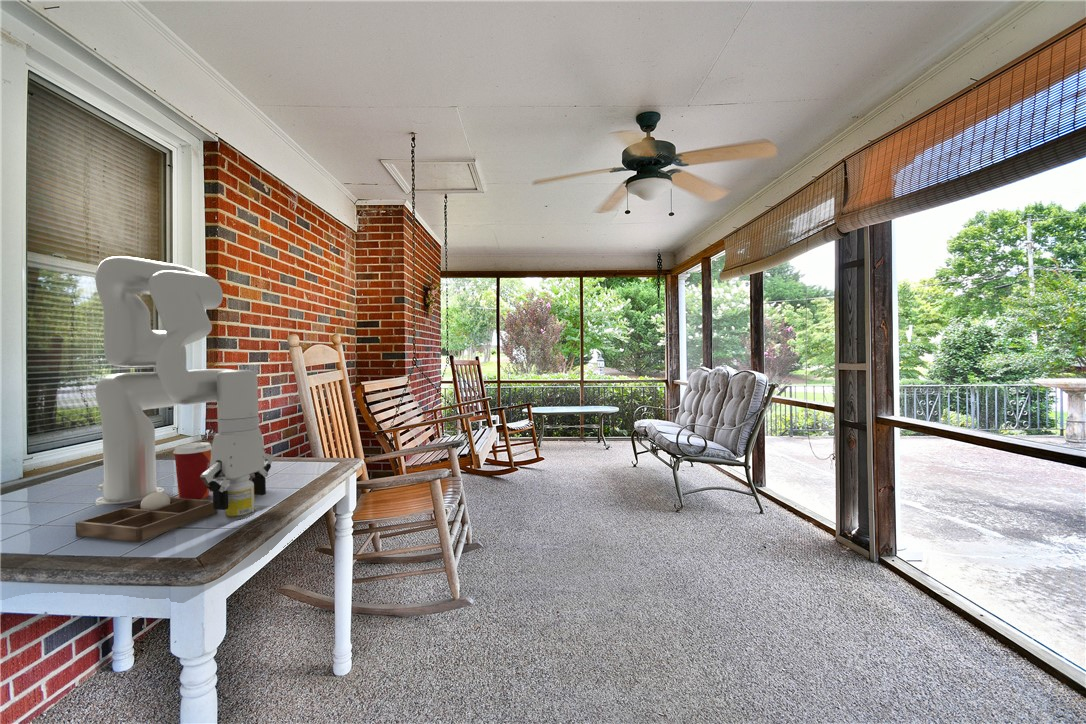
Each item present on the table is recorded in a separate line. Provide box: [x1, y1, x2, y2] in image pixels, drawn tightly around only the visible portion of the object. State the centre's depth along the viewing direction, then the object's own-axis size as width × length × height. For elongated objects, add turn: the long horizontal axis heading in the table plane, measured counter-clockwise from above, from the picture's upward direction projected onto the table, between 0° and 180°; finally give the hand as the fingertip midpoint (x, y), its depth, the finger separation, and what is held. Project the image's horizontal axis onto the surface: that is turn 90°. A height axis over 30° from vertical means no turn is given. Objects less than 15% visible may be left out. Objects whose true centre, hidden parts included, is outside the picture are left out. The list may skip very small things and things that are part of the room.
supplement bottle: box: [224, 475, 256, 521], centre depth 99 cm, size 5×5×10 cm
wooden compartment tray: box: [75, 496, 218, 543], centre depth 93 cm, size 16×16×4 cm
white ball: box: [140, 492, 171, 510], centre depth 97 cm, size 5×5×5 cm
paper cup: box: [172, 441, 212, 500], centre depth 109 cm, size 8×8×14 cm
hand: (240, 501), depth 99 cm, fingers open, 9 cm apart
